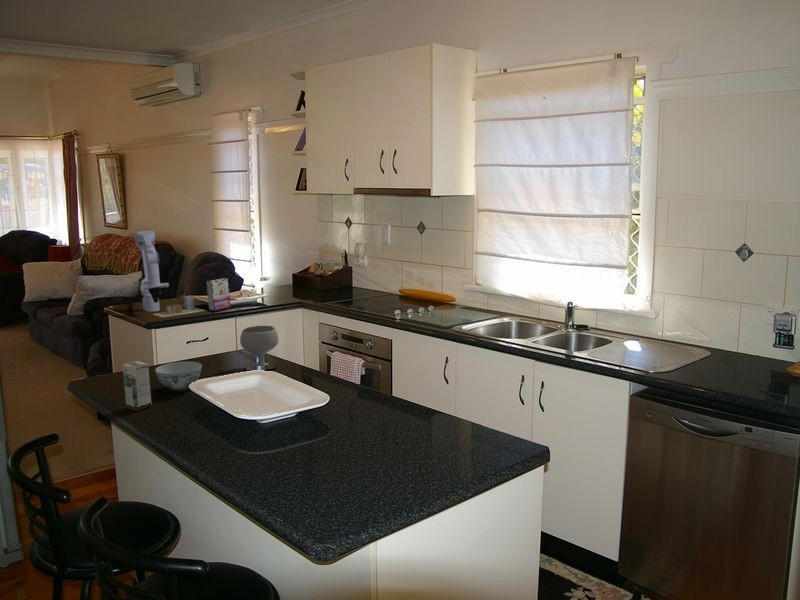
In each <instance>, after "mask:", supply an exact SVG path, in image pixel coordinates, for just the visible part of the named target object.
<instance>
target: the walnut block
mask: <svg viewBox="0 0 800 600" xmlns="http://www.w3.org/2000/svg"><path fill="white" fill-rule="evenodd" d="M182 309H183V305H182V304H179V303H176V304H170V305H166V306H165V312H166V313H167V314H176V313H182Z"/></svg>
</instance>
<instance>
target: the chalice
mask: <svg viewBox="0 0 800 600" xmlns="http://www.w3.org/2000/svg"><path fill="white" fill-rule="evenodd" d="M239 342H240V346H241V347H242V349H244V351H247V352H249V353H251V354H254V355H255V356H256V357H257V362H255V363H256V364H254V363H253V364H254V366H265V365H268V363H265V362H266V361H264V357H265V355H266V354H267V353H268V352H270V351H272V350H273V349H275V348H276V346H277V345H278V344H279V334H278V332H277V330H276V328H275V327H274V326H271V325H255V326H249V327H245V328H243V329H242V331H241V334H240V338H239Z"/></svg>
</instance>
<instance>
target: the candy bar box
mask: <svg viewBox="0 0 800 600" xmlns="http://www.w3.org/2000/svg"><path fill="white" fill-rule="evenodd" d="M206 290H207V291H206V292H207V299H208V300H207V301H208V310H210V311H218V310H219V311H220V310H223V309H229V308H231V298H230V296H231V295H230V287H229V278H225V277H224V278H218V279H213V280H206Z"/></svg>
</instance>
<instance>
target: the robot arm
mask: <svg viewBox="0 0 800 600" xmlns="http://www.w3.org/2000/svg"><path fill="white" fill-rule="evenodd" d="M155 234H156V233H155V231H154V230H153V229H151V230H150V229H149V230H135V231H134V240H135V245H136V248H138V249H139V250H140V252H141V258H142V264H143V265H142V266H143V271H144V273H143V274H144V278H143V279H142V280H141V281H140V283H139V284H140V286H139V291H140V293H141V296H143V297H142V308H143V311H145V312H150V313H151V312H158V311H161V308H160V306H161V305H160V299H159V298H160V295H161V293H162V288H168V287H170V285H169V282H161V281H160V280H161V279H160V278H161V277H160V268H159V267H160V266H159V264H160V257H159V256H160V255H159V252H158V251H156V247H155V241H156V235H155Z"/></svg>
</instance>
